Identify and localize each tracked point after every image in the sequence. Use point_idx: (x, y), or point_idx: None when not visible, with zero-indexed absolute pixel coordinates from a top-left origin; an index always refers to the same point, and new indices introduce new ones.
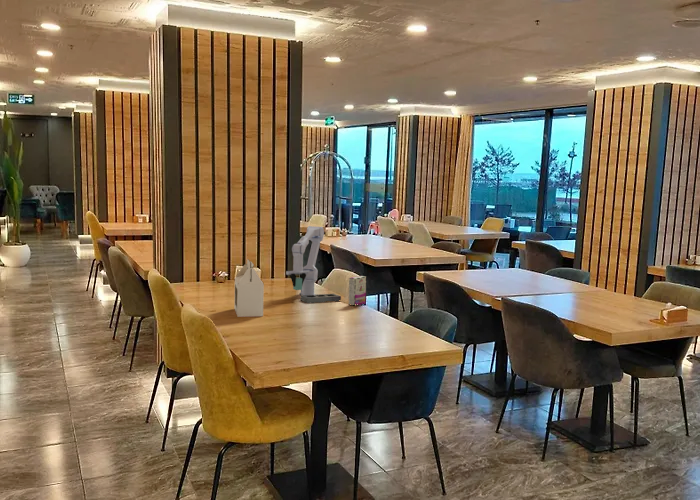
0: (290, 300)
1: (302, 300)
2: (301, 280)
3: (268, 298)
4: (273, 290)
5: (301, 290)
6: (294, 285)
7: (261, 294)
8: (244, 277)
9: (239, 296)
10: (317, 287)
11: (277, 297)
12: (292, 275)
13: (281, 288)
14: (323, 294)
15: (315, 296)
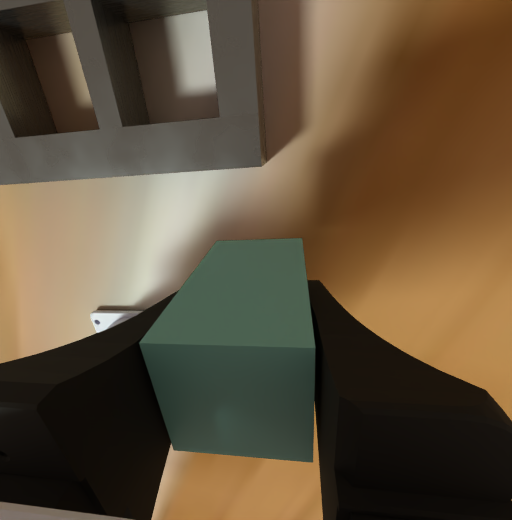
0: (363, 182)
1: (263, 109)
2: (178, 310)
3: (497, 321)
4: (306, 498)
5: None
6: (321, 283)
7: None
8: None
9: None
10: None
11: (398, 336)
12: (483, 483)
13: (245, 515)
14: (9, 158)
15: (103, 46)
